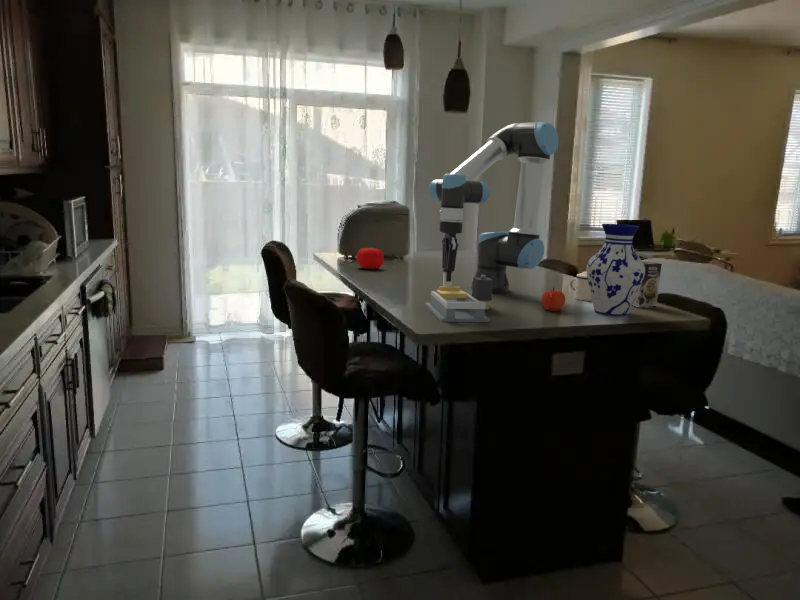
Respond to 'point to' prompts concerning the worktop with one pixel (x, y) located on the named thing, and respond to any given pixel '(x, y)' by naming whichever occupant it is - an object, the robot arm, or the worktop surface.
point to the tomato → (370, 258)
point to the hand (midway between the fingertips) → (446, 290)
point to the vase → (615, 271)
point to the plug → (482, 289)
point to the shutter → (451, 292)
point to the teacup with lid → (581, 287)
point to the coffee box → (649, 286)
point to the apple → (553, 300)
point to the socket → (457, 309)
